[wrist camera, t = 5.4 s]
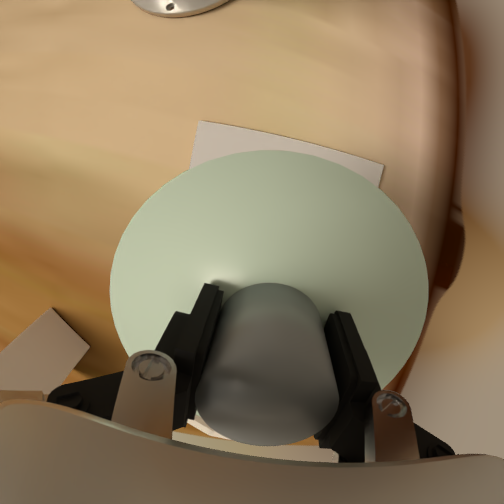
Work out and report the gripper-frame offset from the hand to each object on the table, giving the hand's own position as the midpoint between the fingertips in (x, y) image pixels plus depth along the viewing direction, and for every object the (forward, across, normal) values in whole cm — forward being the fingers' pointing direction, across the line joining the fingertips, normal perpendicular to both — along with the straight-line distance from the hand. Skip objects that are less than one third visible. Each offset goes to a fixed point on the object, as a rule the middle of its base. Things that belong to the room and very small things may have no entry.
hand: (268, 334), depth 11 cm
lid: (+1, 0, 0) cm, 1 cm away
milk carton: (+16, +23, +20) cm, 35 cm away
